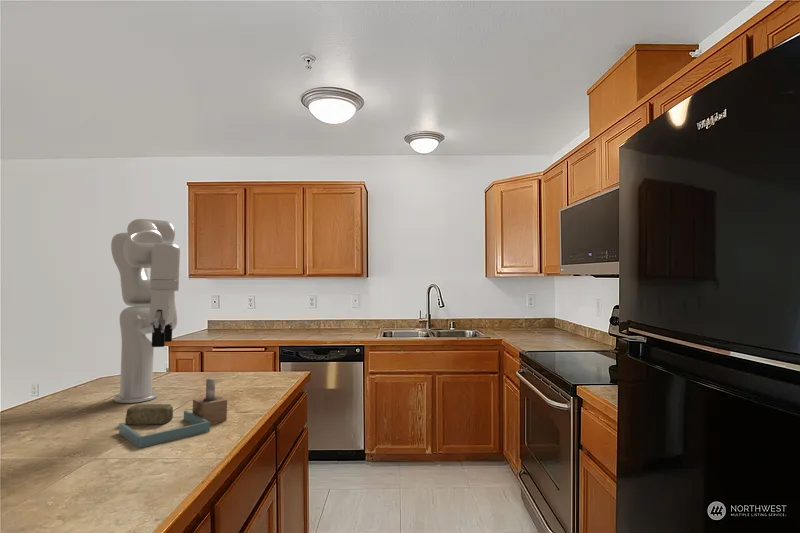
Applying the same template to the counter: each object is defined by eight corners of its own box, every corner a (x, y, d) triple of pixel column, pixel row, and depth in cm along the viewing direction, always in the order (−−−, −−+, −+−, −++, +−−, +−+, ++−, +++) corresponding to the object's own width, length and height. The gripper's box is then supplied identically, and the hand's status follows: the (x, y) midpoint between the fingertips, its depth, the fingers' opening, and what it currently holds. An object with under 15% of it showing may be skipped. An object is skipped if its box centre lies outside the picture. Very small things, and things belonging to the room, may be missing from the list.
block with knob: (192, 420, 132) (193, 379, 132) (215, 415, 137) (216, 375, 138) (202, 425, 127) (204, 382, 128) (226, 420, 133) (227, 379, 133)
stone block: (165, 425, 127) (166, 408, 127) (123, 426, 126) (123, 408, 126) (174, 419, 133) (174, 402, 133) (133, 420, 132) (133, 403, 132)
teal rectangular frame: (119, 433, 120) (119, 423, 120) (186, 418, 133) (186, 410, 133) (139, 447, 110) (139, 437, 110) (209, 431, 123) (210, 421, 123)
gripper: (157, 284, 139) (155, 339, 139) (142, 286, 123) (139, 349, 123) (183, 285, 142) (181, 339, 141) (172, 287, 125) (169, 348, 125)
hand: (162, 344), depth 132 cm, fingers open, 9 cm apart
